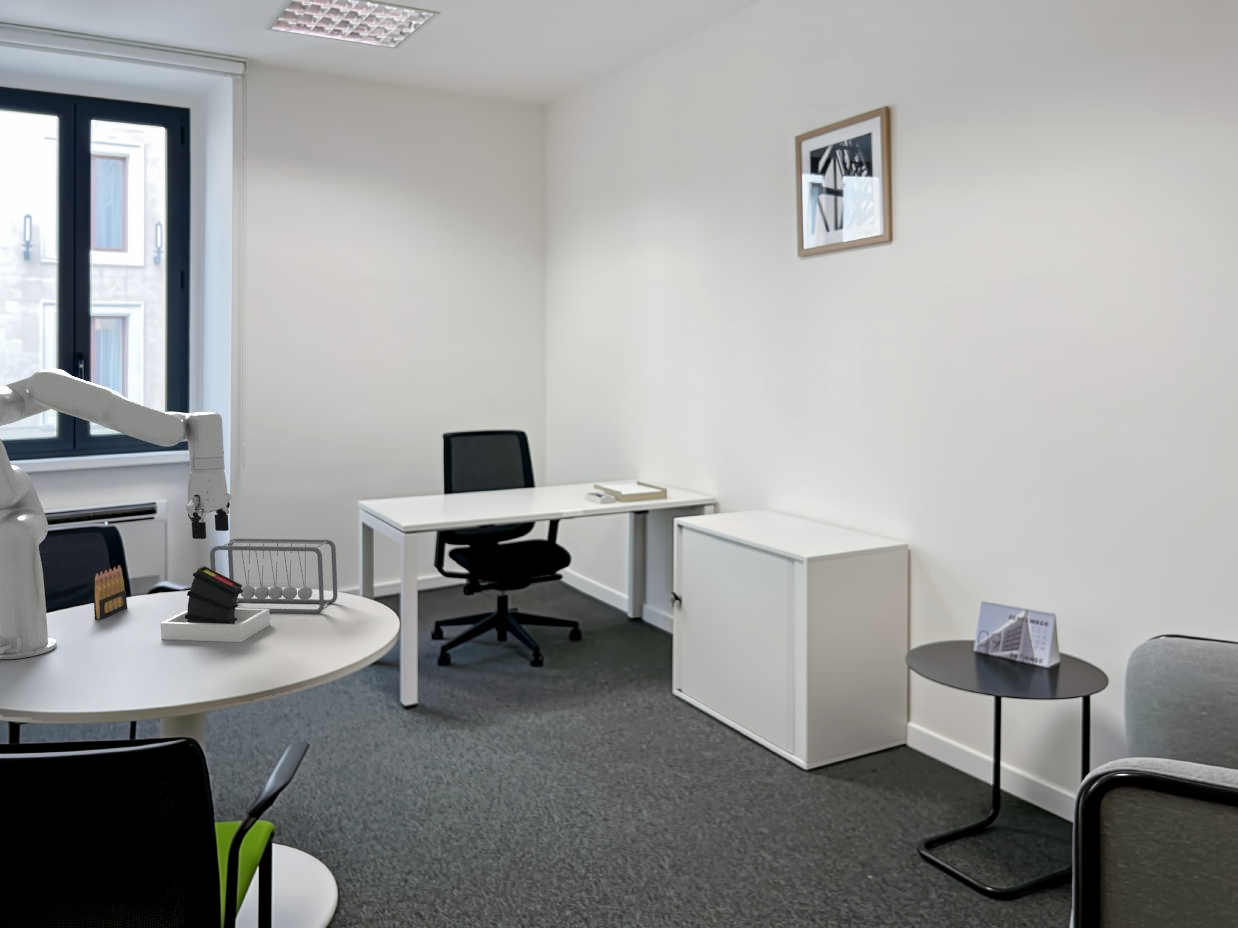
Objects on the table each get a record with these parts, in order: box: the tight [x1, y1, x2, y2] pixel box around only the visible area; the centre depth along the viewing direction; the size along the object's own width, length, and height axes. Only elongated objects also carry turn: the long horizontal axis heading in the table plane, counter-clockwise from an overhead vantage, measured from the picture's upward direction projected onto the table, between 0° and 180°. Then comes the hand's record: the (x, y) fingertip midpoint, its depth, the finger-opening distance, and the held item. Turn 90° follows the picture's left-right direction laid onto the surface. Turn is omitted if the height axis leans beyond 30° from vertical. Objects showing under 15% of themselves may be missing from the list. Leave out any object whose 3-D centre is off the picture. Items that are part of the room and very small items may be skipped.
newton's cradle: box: [209, 537, 338, 615], centre depth 243 cm, size 30×10×18 cm, turn 86°
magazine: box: [185, 565, 243, 624], centre depth 221 cm, size 4×13×15 cm, turn 84°
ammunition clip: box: [93, 564, 128, 621], centre depth 237 cm, size 11×2×12 cm, turn 174°
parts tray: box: [160, 607, 271, 643], centre depth 222 cm, size 14×20×4 cm
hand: (211, 534), depth 219 cm, fingers open, 9 cm apart
